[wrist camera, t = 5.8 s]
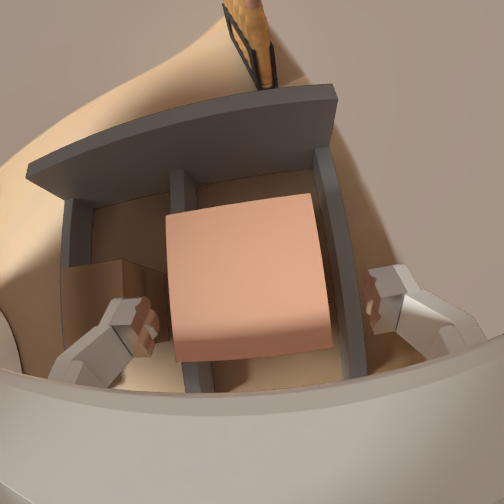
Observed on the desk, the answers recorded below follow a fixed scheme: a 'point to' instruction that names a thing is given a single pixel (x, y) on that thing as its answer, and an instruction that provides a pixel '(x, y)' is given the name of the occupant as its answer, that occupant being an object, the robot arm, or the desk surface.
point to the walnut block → (107, 295)
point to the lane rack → (211, 181)
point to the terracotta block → (247, 281)
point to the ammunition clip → (252, 40)
